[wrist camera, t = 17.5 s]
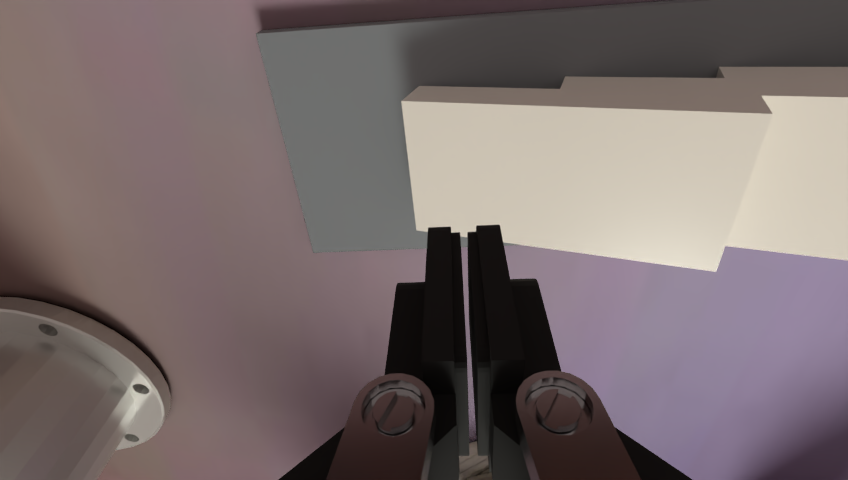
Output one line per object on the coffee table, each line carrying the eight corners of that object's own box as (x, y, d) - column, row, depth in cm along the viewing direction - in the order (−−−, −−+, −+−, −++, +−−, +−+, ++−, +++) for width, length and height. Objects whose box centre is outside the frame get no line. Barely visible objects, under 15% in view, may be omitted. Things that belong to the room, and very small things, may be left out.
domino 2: (548, 224, 17) (888, 265, 14) (559, 91, 14) (992, 100, 11) (554, 203, 18) (868, 236, 15) (565, 76, 15) (957, 80, 12)
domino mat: (316, 244, 21) (313, 252, 20) (261, 30, 15) (255, 33, 15) (984, 219, 19) (999, 226, 18) (1176, -37, 13) (1204, -36, 13)
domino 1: (416, 230, 17) (715, 271, 14) (401, 100, 15) (773, 114, 11) (430, 209, 19) (709, 242, 15) (419, 85, 16) (759, 93, 12)
